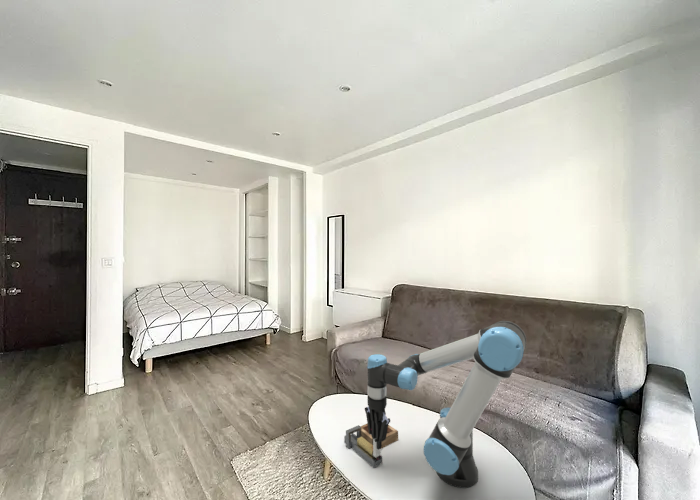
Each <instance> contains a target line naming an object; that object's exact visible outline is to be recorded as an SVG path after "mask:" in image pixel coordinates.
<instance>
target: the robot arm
mask: <svg viewBox="0 0 700 500" xmlns="http://www.w3.org/2000/svg"><path fill="white" fill-rule="evenodd" d="M526 346H527V335H526V333H525V331H524V330H523V329H522V327H521V326H519V325H518V324H516V323H514V322H513V321H509V320H500V321H497V322H494V323H493V324H491V325H489V326H487V327H483V328H481V329H479V331H478V333H476V334H473V335H470V336H467V337H465V338H461V339H459V340H456V341H452V342H450V343H447V344H444V345H440V346H439V347H438V346H437V347H435V348H433V349H430V350H429V349H428V350H425V351H424V352H421V353H415V354H412V355H409V357H407V358H406V359H405V360H403V361H402V362H400V363H399V364H394V363H390V362H388V361H387V356H385V355H384V354H377V353H376V354H371V355H370V356H368V358H367V367H366V368H367V406H366V407H364V411H365V414H366V422H367V423H366V424H368V431H369V434H371V435H372V438H373V443H372V444H373V456H374V457H375V458H376V457H378V456H380V455H381V456H382V449H383V448H382V441H384V440H386V435H387V430H388V425H390V423H391V418H388V417H387V416H386V415H387V412H386V407H387V405H388V403H387V399H388V398H387V397H388V396H387V393H388V391H387V385H390V386H392V387H396V388H399V389H401V390H406V391H407V390H408V391H414V390H415V388H416V386H417V385H418V379H419V378H418V376H420V375H421V376H422V375H424V374H427V373H429V372H433V371H437V370H439V369H443V368H446V367H451V366H453V365H456V364H460V363H463V362H467V361H470V360H472V359H473V360H474V364H473V366H472V367H471V370H470V371H469V373H468V375H467V377H466V379H465V380H464V383H463V385H462V386H461V388H460V390H459V392H458V394H457V395H456V398H455V399H454V401H453V403H452V405H451V406H450V407H443V408H442V409H440V412H439V419H438V421H437V422H436V424H435V426H434V428H433V430H432V431H431V433H430V434H429V437H428V438H427V439H426V440H425V443H424V445H423V456H424V457H425V460H426V462H427V463H428V465H429V466H430V467H431V468H432V470H434V471H435V472H436V474H437V476H438V477H439V478H440V479H441V480H442V481H443V482H445V483H446V484H448V485H450V486H452V487H457V488H469V487H473V486H475V484H477V482H478V480H479V471H478V467H477V464H476V461H475V458H474V452H473V451H474V450H473V449H474V448H473V445H474V443H473V440H474V439H473V435H474V433H473V431H474V428H475V427H476V424H477V423H478V421H479V419H480V418H481V416H482V415H483V413H484V410H485V409H486V408H487V405H488V404H489V403H490V400H491V398H492V397H493V395H494V394H495V392H496V391H497V389H498V387H499V384H501V381H502V380H506V379H507V380H508V379H509V378H511V376H512V374H513V373H514V371H515V369H516V367H517V366H519V364H520V363H521V361H522V359H523V356H524V352H525V349H526ZM371 429H372V430H371ZM381 448H382V449H381Z"/></svg>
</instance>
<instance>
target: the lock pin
mask: <svg viewBox="0 0 700 500" xmlns="http://www.w3.org/2000/svg"><path fill="white" fill-rule="evenodd" d="M357 446H359V447H360V448H361V449H362V450H363V451H365V452H366V453H367V454H368V455H369V456H371V457H372V458H375V457H374V456H373V445H372V444H370V443H369V442H368V441H367V440H365V439H364V438H363V437H359V438H357ZM376 458H377V457H376Z"/></svg>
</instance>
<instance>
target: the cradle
mask: <svg viewBox="0 0 700 500" xmlns="http://www.w3.org/2000/svg"><path fill="white" fill-rule="evenodd" d="M360 426H361V428H362V437H363V438H364V439H365V440H367V441H368V442H369V443H370V444H372V443H373V438H372V435H371V434H369V431H368V424H367V423H365V424H362V425H360ZM397 441H399V431H398V430H397V429H396V428H394V427H393V426H391V425H390V424H388V430H387V435H386V440H384V441H382V448H381V450H382V449H383V448H386V447H387V446H389V445H392V444H394V443H396V442H397ZM372 445H373V444H372Z"/></svg>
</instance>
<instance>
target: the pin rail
mask: <svg viewBox="0 0 700 500" xmlns="http://www.w3.org/2000/svg"><path fill="white" fill-rule="evenodd" d="M361 426H362V425H360V424H358V425H355V426H354V427H351V428H349V429H347V430H345V435H343V437H344V443H345V448H346V449H348V450H350V449H351V450H352V451H354V452H355V453H356V454H357V455H358V456H359V457H361V458H362V459H363V460H364V461H365V462H366V463H367V464H369V465H370V466H371V467H372V468H373V469H374V468H377V467H378V466H380V465H383V456H382V454H381V455H380V456H378V457H377V458H372V457H371V456H369V455H368V454H367V453H366V452H365V451H363V450H362V449H361V448H360V447H359V446H357V438H359V437H362V428H361ZM355 433H356V434H355Z"/></svg>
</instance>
